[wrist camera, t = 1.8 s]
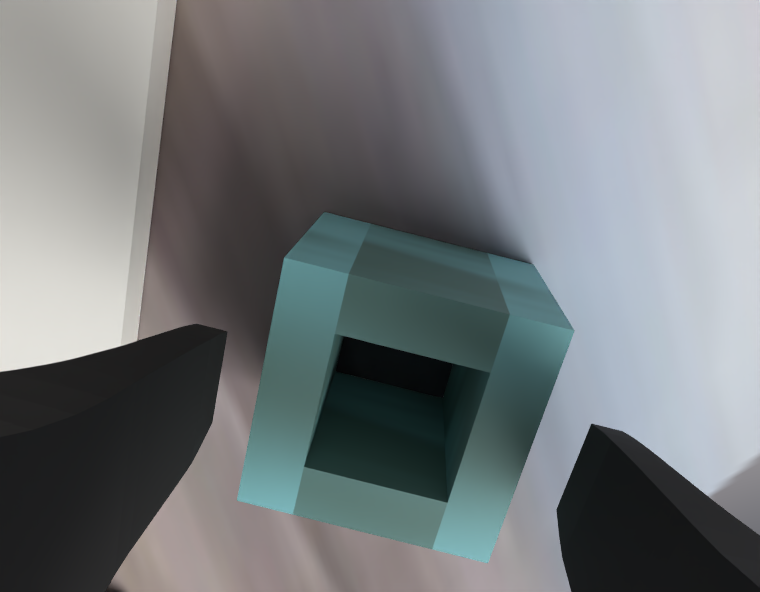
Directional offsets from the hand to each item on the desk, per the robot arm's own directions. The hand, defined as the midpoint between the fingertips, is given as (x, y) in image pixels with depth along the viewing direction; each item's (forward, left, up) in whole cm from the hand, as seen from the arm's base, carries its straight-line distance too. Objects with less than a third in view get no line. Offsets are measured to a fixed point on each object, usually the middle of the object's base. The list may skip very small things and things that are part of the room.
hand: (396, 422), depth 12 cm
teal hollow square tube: (0, 0, -5) cm, 5 cm away
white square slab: (+2, +16, -5) cm, 17 cm away
